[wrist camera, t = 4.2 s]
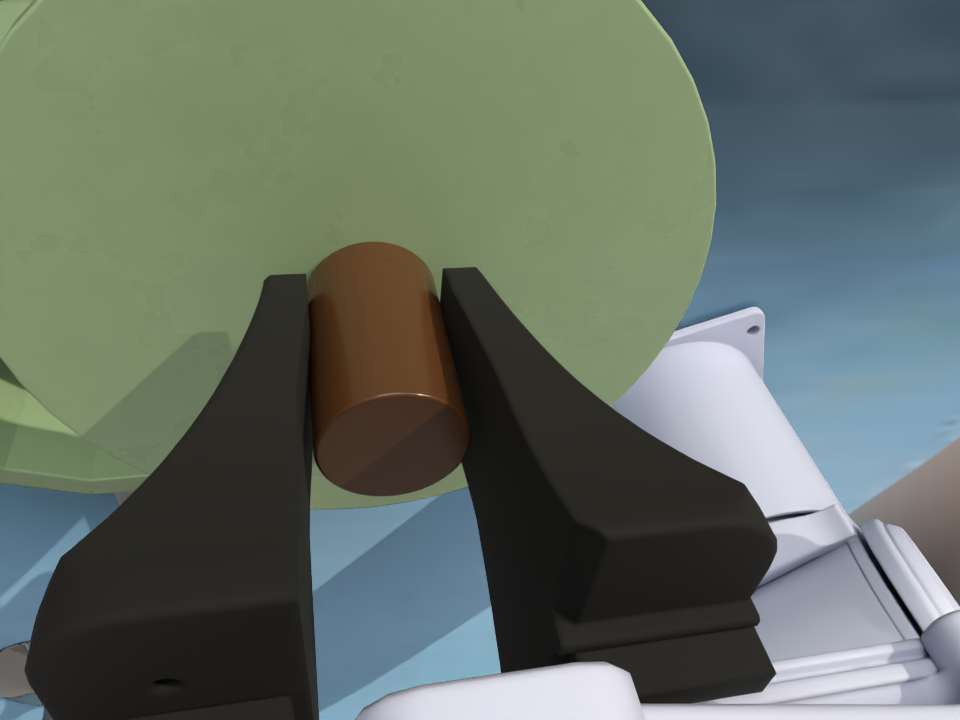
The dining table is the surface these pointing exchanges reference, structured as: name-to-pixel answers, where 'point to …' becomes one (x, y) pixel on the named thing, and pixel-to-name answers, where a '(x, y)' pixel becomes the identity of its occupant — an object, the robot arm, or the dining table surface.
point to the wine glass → (17, 677)
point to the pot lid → (339, 208)
